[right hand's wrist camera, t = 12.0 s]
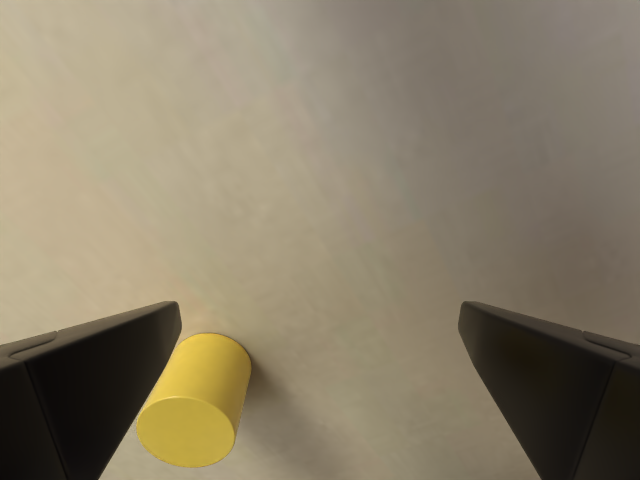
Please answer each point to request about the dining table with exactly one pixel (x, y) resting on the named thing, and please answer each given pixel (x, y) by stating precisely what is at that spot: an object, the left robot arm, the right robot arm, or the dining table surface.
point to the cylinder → (196, 402)
